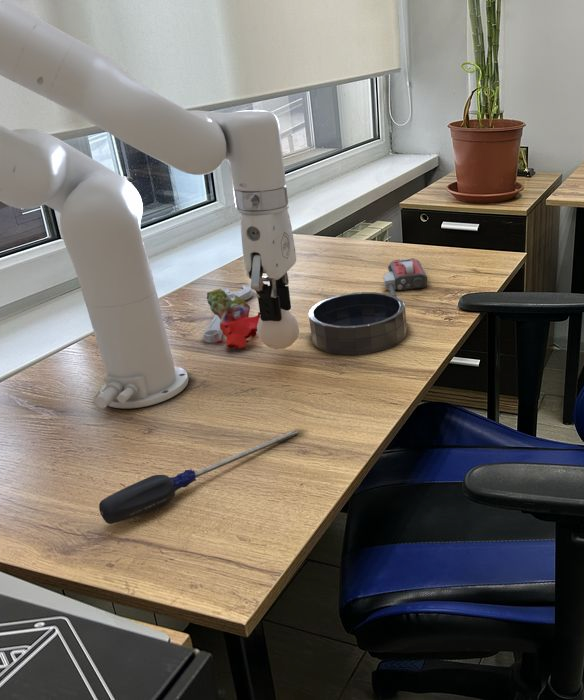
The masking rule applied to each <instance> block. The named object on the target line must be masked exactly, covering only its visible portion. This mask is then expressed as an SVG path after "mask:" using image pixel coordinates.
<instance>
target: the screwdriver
mask: <svg viewBox="0 0 584 700" xmlns="http://www.w3.org/2000/svg"><path fill="white" fill-rule="evenodd" d="M298 433H299V431H298V430H292V431H290V432H287V433H285V434H282V435H280V436H277V437H275V438H273V439H271V440H268V441H265V442H264V443H261V444H258V445H256V446H254V447H251V448H249V449H247V450H244V451H242V452H239V453H237V454H234V455H232V456H230V457H228V458H225V459H223V460H221V461H218V462H216V463H213V464H211V465H209V466H207V467H204V468H202V469H198V470H197V471H195V470H193V469H185V470H184V471H183V472H180V473H177V474H176V475H175V476H169V475H166V474H153V475H151V476H148V477H146V478H144V479H142V480H139V481H136V482H134V483H133V484H130V485H128V486H126V487H124V488H122V489H120V490H118V491H116V492H114V493H112V494H110V495H108V496H106V497H104V498H103V499H101V501H100V502H99V504H98V510H99V513H100V516H101V517H102V520H103V521H104V522H105V523H107V524H109V525H113V524H117V523H121V522H123V521H127V520H130V519H132V518H135V517H138V516H140V515H143V514H146V513H149V512H151V511H154V510H156V509H159V508H161V507H164V506H165V505H167V504H168V503H169V502H171V501H172V499H173V498H174V497H175V495H176V492H177V491H178V490H181V489H182V488H186V487H189V485H190V484H192V483H193V482H196V481H197V478H198V477H201V476H203V475H206V474H208V473H210V472H212V471H214V470H218V469H219V468H222V467H225V466H226V465H229V464H231V463H235V462H236V461H238V460H241V459H243V458H246V457H248V456H249V455H252V454H255V453H257V452H259V451H262V450H265V449H266V448H269V447H271V446H273V445H276V444H278V443H280V442H283V441H286V440H288V439H290V438H292V437H294V436H296V435H297V434H298Z"/></svg>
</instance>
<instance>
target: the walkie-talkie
mask: <svg viewBox="0 0 584 700" xmlns="http://www.w3.org/2000/svg"><path fill="white" fill-rule="evenodd" d="M387 269H388V272H386V273H385V274H383V284H384V289H385V291H389V295H393V296H396V297H398V295H397V292H396V290H397V291H407V290H417V289H424V288H426V287H427V286H428V285H427V282H428V277H427V274H426V272H425V270H424V268H423V267H422V264H421V262H420V260H419V259H417V258H414V257H413V258H401V259H394V260H392V261H391V262H389V265H388V266H387Z"/></svg>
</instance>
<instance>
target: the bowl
mask: <svg viewBox="0 0 584 700" xmlns="http://www.w3.org/2000/svg"><path fill="white" fill-rule="evenodd" d="M396 296H397V295H396ZM396 296H393V295H391V294H390V293H384V292H376V291H359V292H350V293H344V294H339V295H338V294H337V295H334V296H331V297H329V298H327V299H323V300H321V301H319V302H317V303H316V304H314V305H313V306H312V307H311V308H310V309H309V311H308V320H309V327H310V334H311V341H312V343H313V345H314V347H316V348H317V349H318V350H320V351H322V352H325V353H327V354H328V353H329V354H332V355H341V356H356V355H357V356H359V355H368V354H372V353H377V352H380V351H384V350H387V349H390V348H392V347H394V346H396V345H397V344H400V342H402V341H403V340H404V338H405V337H406V336H407V329H408V326H407V314H406V313H407V312H406V305H405V301H403V299H401V298H399V297H398V296H397V297H396Z"/></svg>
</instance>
